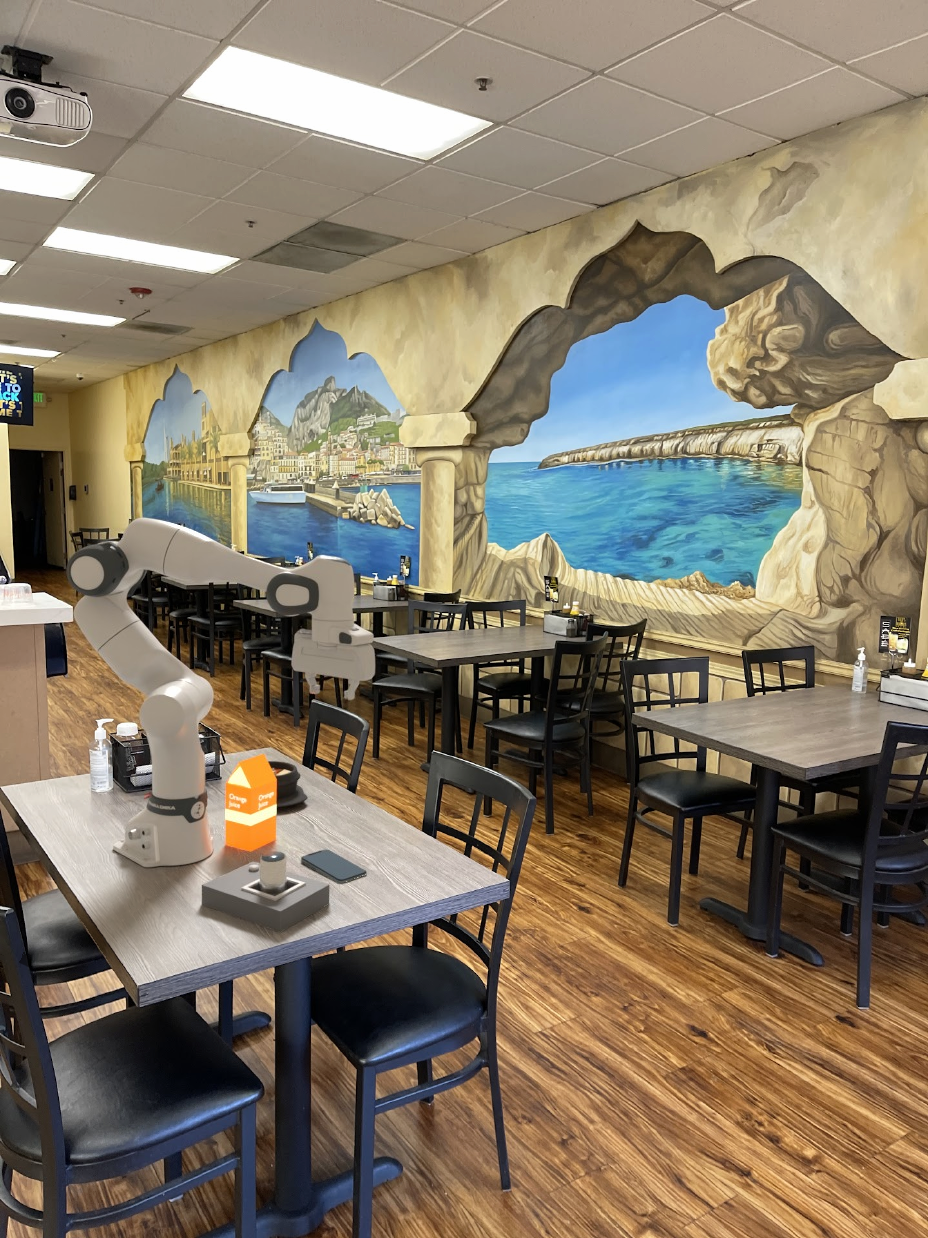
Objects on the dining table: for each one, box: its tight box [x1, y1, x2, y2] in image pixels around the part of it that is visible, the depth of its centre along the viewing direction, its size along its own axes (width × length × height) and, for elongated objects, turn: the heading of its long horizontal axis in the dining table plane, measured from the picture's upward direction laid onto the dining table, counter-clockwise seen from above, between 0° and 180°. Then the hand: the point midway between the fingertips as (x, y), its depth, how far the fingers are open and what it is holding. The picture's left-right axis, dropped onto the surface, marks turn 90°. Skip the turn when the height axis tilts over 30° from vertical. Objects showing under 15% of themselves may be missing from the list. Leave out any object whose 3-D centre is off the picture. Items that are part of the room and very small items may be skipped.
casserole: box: [267, 760, 308, 808], centre depth 229 cm, size 25×19×8 cm
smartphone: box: [300, 849, 368, 884], centre depth 186 cm, size 8×2×15 cm
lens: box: [259, 850, 287, 896], centre depth 166 cm, size 5×5×10 cm
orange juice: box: [224, 753, 278, 852], centre depth 198 cm, size 8×9×20 cm
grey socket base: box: [201, 860, 330, 933], centre depth 167 cm, size 20×14×5 cm
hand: (331, 696), depth 185 cm, fingers open, 8 cm apart
